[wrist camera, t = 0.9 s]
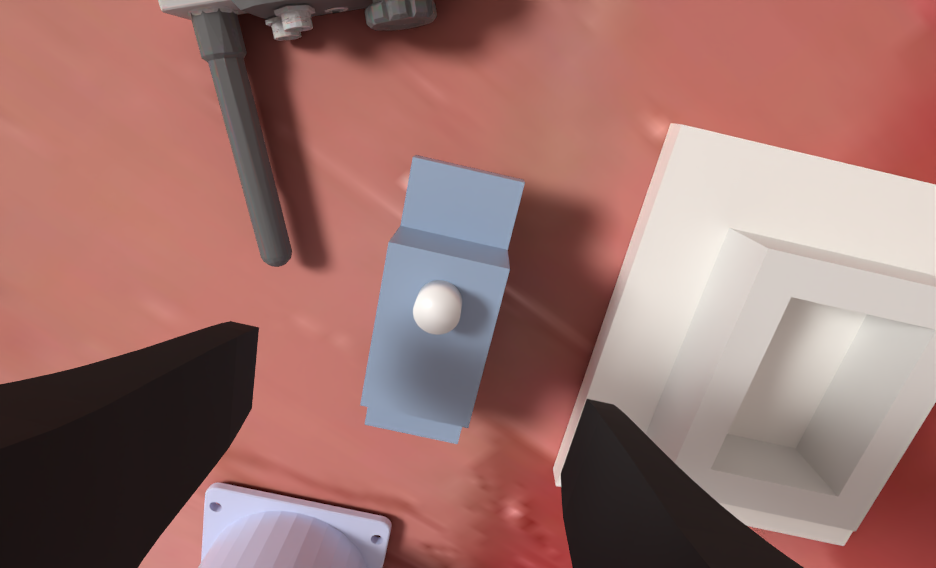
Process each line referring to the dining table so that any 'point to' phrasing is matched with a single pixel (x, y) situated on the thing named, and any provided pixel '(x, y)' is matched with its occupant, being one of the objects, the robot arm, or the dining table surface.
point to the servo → (440, 299)
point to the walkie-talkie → (221, 44)
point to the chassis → (773, 329)
